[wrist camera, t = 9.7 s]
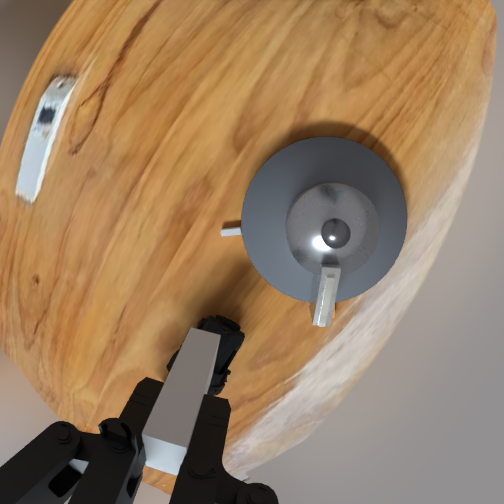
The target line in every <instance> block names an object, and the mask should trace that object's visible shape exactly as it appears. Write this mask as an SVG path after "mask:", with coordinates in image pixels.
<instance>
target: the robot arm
mask: <svg viewBox="0 0 504 504" xmlns="http://www.w3.org/2000/svg"><path fill="white" fill-rule="evenodd" d="M220 336H221V335H218V334H215V333H211V332H207V331H203V330H199V329H195V328H192V327H191V328H190V330H189V332H188V334H187V336H186V338H185V341H184V343H183V345H182V347H181V349H180V351H179V353H178V355H177V358H176V360H175V362H174V364H173V366H172V368H171V370H170V372H169V375H168V377H167V379H166V381H165V383H163V382H160V381H157V380H154V379H151V378H148V377H146V378H145V379H143V380H142V381H140V382H139V383H138V384H137V386H136V387H135V389H134V391H133V394H132V395H131V396H130V398H129V401H128V402H127V404H126V406H125V407H124V409H123V411H122V413H121V415H120V417H119V418H108V419H106V420H103V421H102V422H101V423H100V424H99V425H98V427H99V430H100V433H101V434H93V433H87V432H81V431H78V430H77V428H76V427H75V426H74V425H72V424H71V423H69V422H65V421H58V422H55V423H53V424H51V425H50V426H49V427H48V428H46V429H45V430H44V431H43V432H42V433H41V434H39V435H38V436H37V437H36V438H35V439H34V440H32V441H31V442H30V443H29V444H27V445H26V446H25V447H24V448H23V449H22V450H20V451H19V452H18V453H17V454H16V455H15V456H13V457H12V458H11V459H10V460H9V461H7V462H6V463H5V464H4V465H3V466H1V467H0V504H64V502H65V501H67V500H68V498H69V497H70V496H71V495H72V496H71V498H70V500H69V502H68V504H133V501H134V498H135V496H136V493H137V490H138V487H139V485H140V482H141V480H142V475H143V472H142V470H143V467H144V465H145V462H146V466H149V467H151V468H154V469H157V470H161V471H164V472H167V473H170V474H174V475H177V479H176V482H175V485H174V489H173V492H172V495H171V499H170V502H169V504H279V503H278V499H277V496H276V494H275V492H274V490H272V489H271V488H270V487H269V486H267V485H264V484H262V483H251V484H247V483H245V482H243V481H240V480H238V479H236V478H234V477H233V476H231V475H230V474H229V473H228V472H226V470H225V469H224V467H223V464H222V455H223V450H224V445H225V439H226V434H227V428H228V423H229V418H230V412H231V408H230V405H229V402H228V399H224V398H220V397H216V396H212V395H208V394H207V392H208V389H209V385H210V382H211V378H212V375H213V370H214V365H215V361H216V356H217V351H218V346H219V341H220Z"/></svg>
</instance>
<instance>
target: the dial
mask: <svg viewBox="0 0 504 504" xmlns="http://www.w3.org/2000/svg"><path fill="white" fill-rule="evenodd" d="M379 233H380V224H379V218H378V215H377V212H376V210H375V207H374V206H373V204H372V203H371V201H370V200H369V199H368V198H367V197H366V196H365V195H364V194H363V193H362V192H360V191H359V190H357V189H355V188H353V187H351V186H348V185H346V184H343V183H339V182H332V181H327V182H320V183H316V184H314V185H311V186H309V187H307V188H306V189H304V190H303V191H302V192H301V193H300V194H299V195H297V197H296V198H295V199H294V200H293V202H292V204H291V206H290V208H289V210H288V213H287V217H286V235H287V241H288V245H289V248H290V251H291V253H292V255H293V257H294V258H295V259H296V261H297V262H298V263H299V264H300V265H301V266H302V267H303V268H304V269H306V270H307V271H309V272H311V273H313V274H315V275H314V281H313V288H312V294H311V300H310V306H309V308H310V314H311V319H312V324H313V325H318V326H319V327H325V325H328V326H330V322H331V318H332V313H333V308H334V303H335V299H336V293H337V288H338V283H339V278H340V276H344V275H347V274H350V273H352V272H354V271H356V270H357V269H359V268H360V267H362V266H363V265H364V264H365V263H366V262H367V261H368V260H369V258H370V257H371V256H372V254H373V252H374V250H375V248H376V246H377V243H378V239H379Z"/></svg>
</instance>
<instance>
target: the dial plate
mask: <svg viewBox="0 0 504 504" xmlns="http://www.w3.org/2000/svg"><path fill="white" fill-rule="evenodd" d="M327 181H332V182H339V183H343V184H346V185H348V186H351V187H353V188H355V189H357V190H359V191H360V192H362V193H363V194H364V195H365V196H366V197H367V198H368V199H369V200H370V201H371V203H372V204H373V206H374V207H375V210H376V212H377V215H378V218H379V224H380V233H379V239H378V243H377V246H376V248H375V250H374V252H373V254H372V256H371V257H370V258H369V260H368V261H367V262H366V263H365V264H364V265H363V266H362V267H360V268H359V269H357V270H356V271H354V272H352V273H350V274H347V275H344V276H340V278H339V283H338V288H337V293H336V299H335V302H340V301H344V300H347V299H350V298H353V297H356V296H358V295H360V294H362V293H364V292H365V291H367V290H368V289H370V288H371V287H373V286H374V285H375V284H377V283H378V282H379V281H380V280H381V279H382V278H383V277H384V276H385V275H386V274H387V273H388V271H389V270H390V269H391V267H392V266H393V265H394V263H395V261H396V259H397V258H398V256H399V253H400V251H401V249H402V246H403V243H404V239H405V235H406V229H407V208H406V202H405V197H404V193H403V191H402V188H401V186H400V183H399V181H398V179H397V178H396V176H395V174H394V173H393V171H392V170H391V169H390V167H389V166H388V165H387V164H386V163H385V162H384V160H383V159H382V158H381V157H379V156H378V155H377V154H376V153H374V152H373V151H372V150H370V149H368V148H367V147H365V146H363V145H361V144H359V143H356V142H354V141H351V140H347V139H343V138H338V137H314V138H308V139H304V140H301V141H298V142H295V143H293V144H291V145H289V146H287V147H285V148H283V149H281V150H280V151H279V152H277V153H276V154H274V155H273V156H272V157H271V158H270V159H269V160H267V161H266V162H265V163H264V165H263V166H262V167H261V168H260V169H259V171H258V172H257V173H256V175H255V177H254V178H253V180H252V181H251V183H250V186H249V188H248V190H247V192H246V196H245V199H244V202H243V208H242V214H241V226H240V227H231V228H222V229H221V237H222V236H231V235H241V234H242V237H243V241H244V245H245V249H246V251H247V253H248V256H249V258H250V260H251V262H252V264H253V265H254V267H255V268H256V270H257V271H258V272H259V274H260V275H261V276H262V277H263V278H264V279H265V280H266V281H267V282H268V283H269V284H270V285H271V286H273V287H274V288H275V289H277V290H278V291H280V292H282V293H283V294H285V295H287V296H290V297H292V298H294V299H298V300H301V301H305V302H310V300H311V294H312V288H313V281H314V275H315V274H313V273H311V272H309V271H307V270H306V269H304V268H303V267H302V266H301V265H300V264H299V263H298V262H297V261H296V259H295V258H294V257H293V255H292V253H291V251H290V248H289V245H288V241H287V235H286V217H287V213H288V210H289V208H290V206H291V204H292V202H293V200H294V199H295V198H296V197H297V195H299V194H300V193H301V192H302V191H303V190H304V189H306V188H307V187H309V186H311V185H314V184H316V183H320V182H327ZM241 229H242V230H241ZM332 318H335V303H334V308H333V313H332ZM332 318H331V319H332Z"/></svg>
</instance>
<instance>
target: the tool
mask: <svg viewBox="0 0 504 504" xmlns="http://www.w3.org/2000/svg"><path fill="white" fill-rule="evenodd" d="M196 329H199V330H203V331H207V332H211V333H215V334H218V335H221V336H220V341H219V346H218V351H217V356H216V361H215V365H214V370H213V375H212V378H211V382H210V385H209V389H208V392H207V394H208V395H212V396H214V395H218V394H219V393H221V391H222V389H223V388H224V386H225V383H224V382H227V375H230V373H231V371H230V370H228V369H227V368H228V366H229V365H230V363H231V361H232V360H233V358H234V356H235V355H236V353H237V351H238V350H239V348H240V347H241V345H242V343H243V341H244V338H245V334H244V333H243V332H241V331H239V330H240V326H239V325H238V324H236V323H235V322H233V321H231V320H229V319H227V318H225V317H223V316H221V315H216V318H215V317H212V316H210V315H209V317H208V319H205V318H202V320H201V321H200V322H199V324H198V326H197V328H196ZM181 347H182V345H181V346H180V348H181ZM179 351H180V349H179V350H177V351H176V352H175V354H174V355H173V356H172V358H171V360H170V362H169V363H168V365H167V369H168V371H169V372H170V370H171V368H172V366H173V364H174V362H175V360H176V358H177V355H178V353H179Z"/></svg>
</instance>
